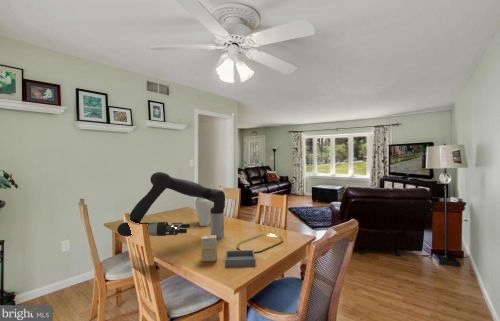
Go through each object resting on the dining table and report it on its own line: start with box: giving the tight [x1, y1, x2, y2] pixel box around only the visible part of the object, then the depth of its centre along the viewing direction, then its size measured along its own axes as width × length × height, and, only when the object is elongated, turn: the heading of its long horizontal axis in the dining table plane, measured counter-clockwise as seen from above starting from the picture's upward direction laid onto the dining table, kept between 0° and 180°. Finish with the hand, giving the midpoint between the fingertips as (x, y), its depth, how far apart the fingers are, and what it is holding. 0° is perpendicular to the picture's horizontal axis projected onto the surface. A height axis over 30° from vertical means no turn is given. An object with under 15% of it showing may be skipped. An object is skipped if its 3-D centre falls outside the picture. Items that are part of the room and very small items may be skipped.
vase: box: [194, 197, 214, 227], centre depth 197 cm, size 15×15×29 cm
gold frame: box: [236, 233, 283, 254], centre depth 156 cm, size 19×35×2 cm, turn 135°
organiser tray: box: [225, 249, 256, 268], centre depth 131 cm, size 12×16×4 cm
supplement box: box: [200, 234, 218, 263], centre depth 133 cm, size 8×5×13 cm, turn 92°
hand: (188, 228), depth 131 cm, fingers open, 8 cm apart
